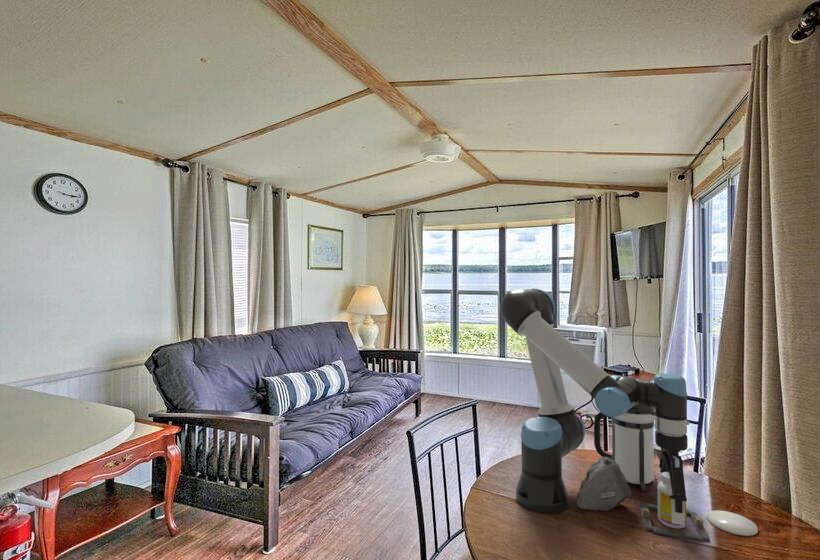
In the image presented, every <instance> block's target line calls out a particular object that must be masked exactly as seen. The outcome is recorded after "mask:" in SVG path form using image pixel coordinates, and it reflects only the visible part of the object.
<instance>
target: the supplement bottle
mask: <svg viewBox="0 0 820 560" xmlns="http://www.w3.org/2000/svg"><path fill="white" fill-rule="evenodd" d="M661 478H662V481H661V480H660V481H659V482H658V483H657V505H658V511H657V519H658V521H659V522H660V524H662V525H664V526H666V527H669V528H672V529H676V530H677V529H684V528H685V527H686V526H687V515H686V510H687V501H684V521H685V525H681V524H675V523H672V507H671V499H670V497H669V496H670V495H672V489H671V482H670V475H669V472H663V473H660V479H661ZM678 495H679V494H678Z"/></svg>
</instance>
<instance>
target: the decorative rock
mask: <svg viewBox="0 0 820 560" xmlns="http://www.w3.org/2000/svg"><path fill="white" fill-rule="evenodd" d="M631 497H632V493H631V489H630V487H629V485H628V482H626V479H625V476H624V474H623V473H622V472H621V469H620V466H619V465H618V464H617V463H616V462H615V461H614V460H613V459H612V458H609V457H602V456H601V457H599V458H598V459H597V461H596V462H595V463H593V464H592V465H591V466H590V467H589V468H588V470H587V471H586V476H585V478H584V480H582V481H581V482H580V487H579V490H578V492H577V493H576V507H577V508H580V509H584V510H593V511H604V512H605V511H607V512H608V511H609V510H613V509H614V508H615V507H618V506H620V505H621V503H622V502H624V501H625V500H626V499H628V498H629V499H630V498H631Z"/></svg>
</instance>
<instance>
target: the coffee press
mask: <svg viewBox="0 0 820 560" xmlns="http://www.w3.org/2000/svg"><path fill="white" fill-rule="evenodd" d="M602 418H611V419H610V420H611V424H612V425H611V426H612V427H611V430H612V431H611V432H612V433H611V434H612V435H611V437H612V438H611V441H612V442H611V443H612V447H611V448H612V454H611V453H608V452H606V451H604V450H603V448H602V446H601V421H602ZM654 428H655V408H653V407H647V406H641V405H635V406H634V407H632V408H630V409H629V410H628V411H627V412H626V413H624V414H622V415H619V416H617V417H609V416H606V415H604V414H602V413H601V412H600V411H599V412H598V413H597V414H596V415H595V418H594V422H593V440H594V441H593V442H594V448H595V450H596V452H597V454H598V455H600V456H601V458H602V457H609V458H612V459H613V460H614V461H615V462H616V463H617V464H618V465H619V466H620V469H621V472H622V473H623V474H624V476H625V479H626V482H627V483H629V484H630V483H631V484H635V485H637V487H638V489H639V491H640V492H643V493H645V492H647V487H646V484H649V483H651V482H653V483H657V482H658V478H657V477H656V476H655V470H654V467H655V465H654V464H655V462H654V459H655V458H654V457H655V453H654V448H655V447H654V443H655V442H654V441H655V439H654V438H655V436H654Z"/></svg>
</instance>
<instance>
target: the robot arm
mask: <svg viewBox="0 0 820 560" xmlns="http://www.w3.org/2000/svg"><path fill="white" fill-rule="evenodd" d="M499 305H500V309H499V310H500V314H501V317H502V318H503V320H504V322H505V323H506V324H507V325H508V327H510V328H511V329H512V330H513V331H514V332H515V333H516V334H517V335H518V336H519V337H521V336H524V337H525V341H526V346H527V350H528V354H529V355H528V356H529V359H530V364H531V368H532V372H533V377H534V381H535V385H536V389H537V395H538V398H539V402H540V407H539V409H538V411H537V415H538V416H537V417H531V418H528V419H526V420H525V421H524V422H523V423H522V424H521V431H520V439H521V441H520V443H521V446H520V449H521V473H520V475H519V479H518V482H517V485H516V487H515V499H516V501H517V502H518V503H519V504H520V505H521V506H523V507H524V508H526V509H528V510H531V511H534V512H538V513H542V514H543V513H544V514H556V513H560V512H564V510H565V511H566V509H568V506H569V494H568V492H567V491H568V490H567V488H566V486H565V481H564V480H563V470H562V469H563V467H562V466H563V460H562V459H563V457H565V456H567V455H568V454H569V453H571V452H573V451H575V450H576V449H578V448H579V447H580V445H581V444H582V443H583V441H584V439H585V438H586V427H585V423H584V422H583V420H582V418H581V417H580V416H578V414H577V413H576V409H575V407H574V406H573V405H572V404H571V403H570V402H569V401H568V397H567V393H566V388H565V385H564V381H563V376H562V372H561V370H562V371H563V372H564V373H565V374H566V375H568V376H569V377H570V378H571V379H572V380H573V381H575V383H577V384H578V386H580V387H581V389H583V390H584V391H585V392H586V393H588V395H590V396H591V397H592V398H593V400H594V404H595V406H596V408H597V410H598V411H599V413H600V412H601V413H602V414H604V415H606V416H609V417H608V418H611V417H617V416H619V415H622V414H624V413H626V412H627V411H628V410H629V409H630V408H632V407H634V406H635V405H641V406H647V407H653V408H655V420H654V429H655V431H654V438H655V439H654V441H655V442H654V443H655V445H656V446H658V447H659V448H660V455H659V464H658V467H659V469H660V470H659V471H660V474H662V473H663V472H669V475H670V482H671V489H672V495H670V496H669V497H670V499H671V507H672V523H675V524H681V525H685V521H684V501H686V502H687V501H688V500H687V499H688V498H687V491H686V485H685V483H686V482H685V475H684V465H683V463H684V460H683V459H682V456H681V455H680V454H679V453H680V452H684V451H686V450H687V449H688V446H689V445H688V435H687V433H688V426H689V425H690V421H689V420H688V392H687V381H686V379H685V377H683V376H682V375H678V374H673V373H657V374H655V375H654V377H653V379H645V378H639V377H633V376H632V377H631V376H626V375H609V374H608V373H607V372H606V371H605V370H604V369H602V368H601V366H599V365H598V364H597V363H596V362H594V361H593V360H592V359H591V358H590V357H588V356H587V354H585V353H584V352H582V351H581V350H580V349H578V347H577V346H575V344H573V343H572V342H571V341H569V340H568V338H566V337H565V336H564V335H562V334H561V333H560V332H559V331H558V330H556V328H554V326H555V323H554V319H553V316H554V315H555V311H556V304H555V301H554V298H553V297H552V295H550V294H549V293H548V292H547V291H545V290H542V289H539V288H525V289H523V288H522V289H520V288H519V289H518V288H517V289H513V290H510V291H508V292H507V293H506V294H504V296H503V297H502V299H501V302H500V304H499ZM661 481H662V478H661V477H660V482H661ZM678 494H679V495H678Z"/></svg>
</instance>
